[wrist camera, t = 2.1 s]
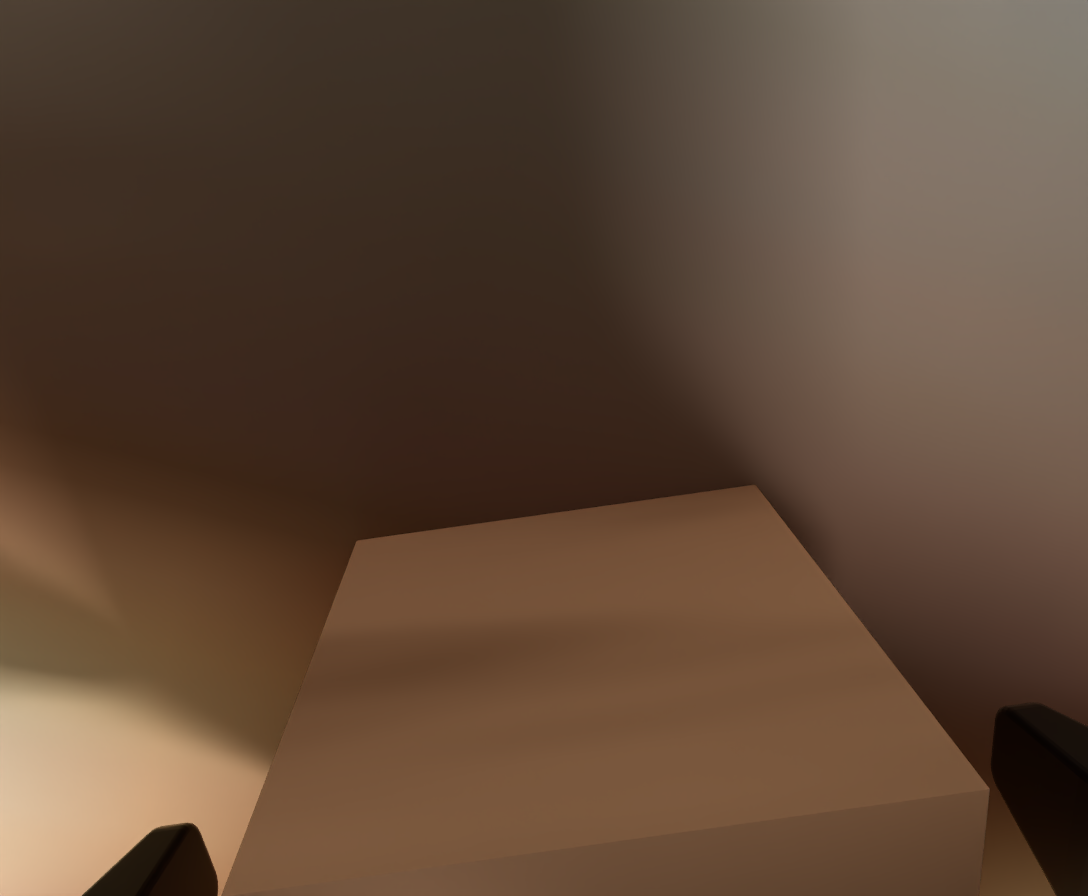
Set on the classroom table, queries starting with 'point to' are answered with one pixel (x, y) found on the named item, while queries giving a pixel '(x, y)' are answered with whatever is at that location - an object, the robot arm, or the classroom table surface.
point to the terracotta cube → (608, 723)
